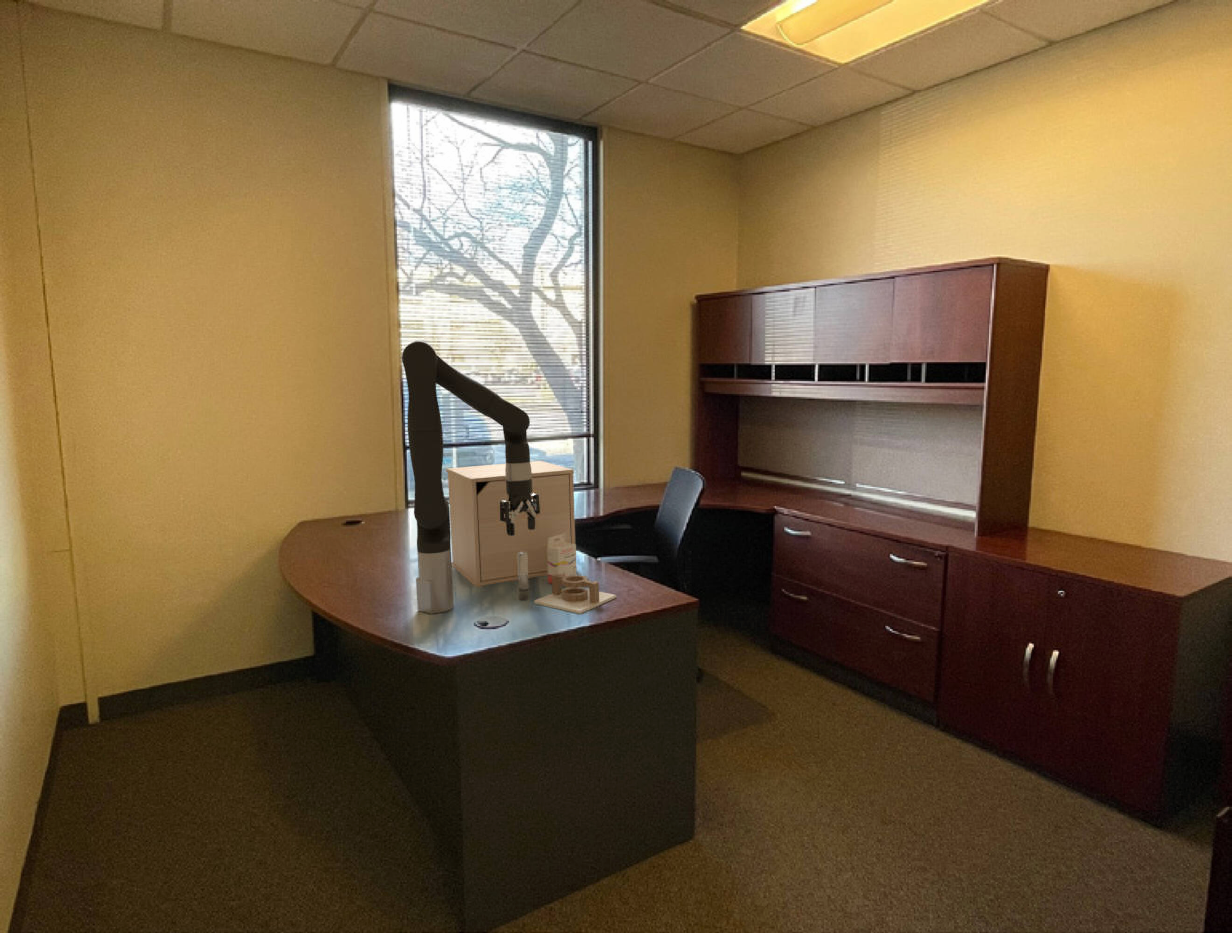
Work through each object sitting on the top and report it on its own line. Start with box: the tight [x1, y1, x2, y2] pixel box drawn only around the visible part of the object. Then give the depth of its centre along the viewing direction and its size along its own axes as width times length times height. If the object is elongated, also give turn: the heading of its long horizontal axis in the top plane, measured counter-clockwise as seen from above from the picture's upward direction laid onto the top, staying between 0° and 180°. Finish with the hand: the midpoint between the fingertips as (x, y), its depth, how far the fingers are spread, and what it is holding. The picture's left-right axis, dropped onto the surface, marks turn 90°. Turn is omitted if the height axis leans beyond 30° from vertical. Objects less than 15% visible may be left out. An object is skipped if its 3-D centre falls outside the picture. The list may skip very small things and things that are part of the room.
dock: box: [533, 574, 617, 615], centre depth 210 cm, size 17×17×6 cm
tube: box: [517, 551, 530, 601], centre depth 213 cm, size 3×3×14 cm
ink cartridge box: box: [547, 534, 577, 584], centre depth 230 cm, size 9×5×15 cm, turn 141°
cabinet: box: [446, 460, 578, 587], centre depth 246 cm, size 35×29×34 cm
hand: (521, 532), depth 211 cm, fingers open, 8 cm apart
